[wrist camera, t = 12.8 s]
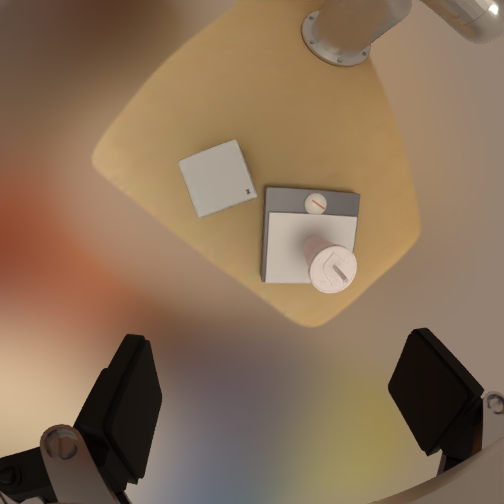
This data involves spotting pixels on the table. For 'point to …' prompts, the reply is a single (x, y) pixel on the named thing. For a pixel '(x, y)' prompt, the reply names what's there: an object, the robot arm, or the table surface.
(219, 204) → the supplement box
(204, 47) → the table surface
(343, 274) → the smoothie
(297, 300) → the table surface
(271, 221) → the scale
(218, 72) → the table surface
